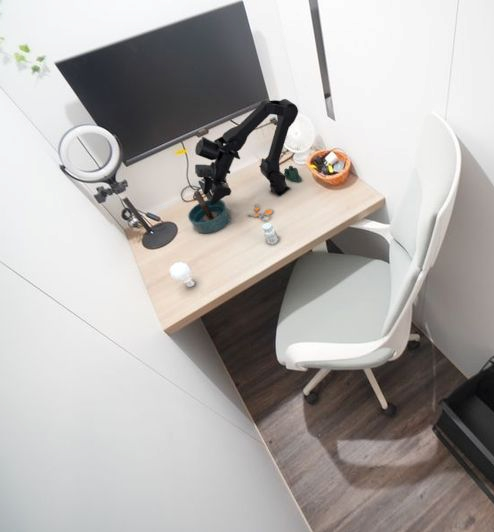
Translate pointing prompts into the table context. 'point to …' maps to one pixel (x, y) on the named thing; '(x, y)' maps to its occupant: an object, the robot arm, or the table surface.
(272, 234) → the pill bottle
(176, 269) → the lightbulb
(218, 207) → the bowl
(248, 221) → the table surface
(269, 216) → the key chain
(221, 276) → the table surface
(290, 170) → the dark green lumpy piece
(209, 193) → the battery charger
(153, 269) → the table surface
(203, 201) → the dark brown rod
